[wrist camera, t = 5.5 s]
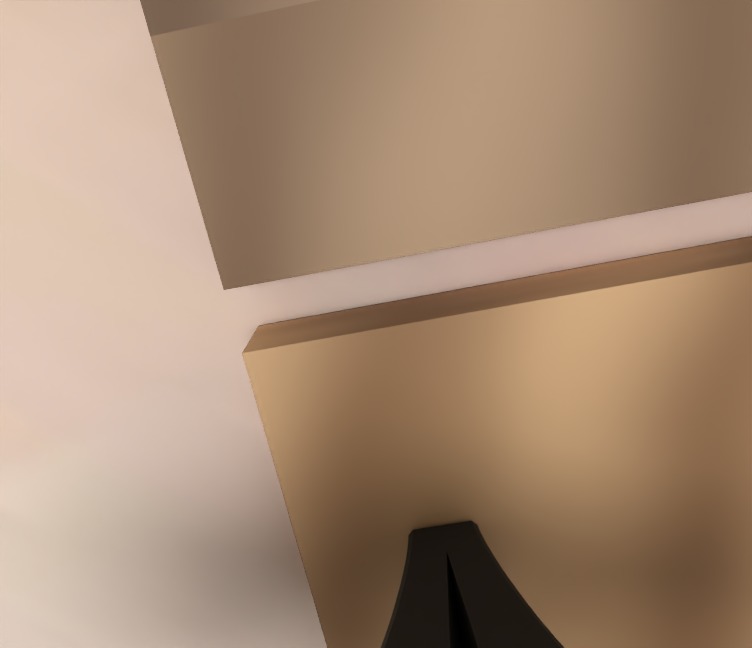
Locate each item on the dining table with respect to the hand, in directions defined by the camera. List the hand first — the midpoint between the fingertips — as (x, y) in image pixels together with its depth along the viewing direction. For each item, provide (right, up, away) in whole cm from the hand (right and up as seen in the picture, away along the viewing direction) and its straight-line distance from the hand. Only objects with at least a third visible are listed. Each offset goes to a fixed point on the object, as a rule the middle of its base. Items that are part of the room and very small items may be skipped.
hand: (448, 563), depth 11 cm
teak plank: (+6, +2, +1) cm, 6 cm away
